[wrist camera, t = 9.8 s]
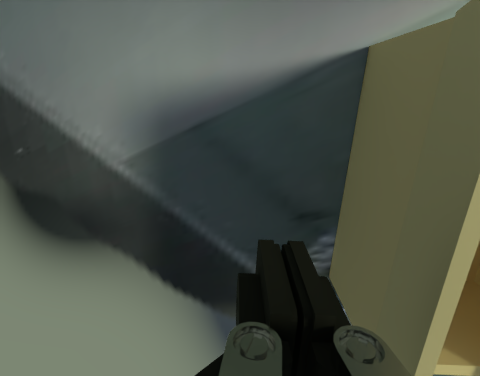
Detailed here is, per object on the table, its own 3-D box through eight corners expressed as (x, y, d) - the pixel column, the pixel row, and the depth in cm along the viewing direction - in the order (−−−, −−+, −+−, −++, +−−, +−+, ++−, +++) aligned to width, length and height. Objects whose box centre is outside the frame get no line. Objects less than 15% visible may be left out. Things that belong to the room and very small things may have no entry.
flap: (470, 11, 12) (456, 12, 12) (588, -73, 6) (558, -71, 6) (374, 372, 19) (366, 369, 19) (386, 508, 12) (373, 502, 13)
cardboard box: (369, 46, 22) (469, 11, 12) (553, 57, 22) (791, 32, 13) (328, 276, 28) (374, 371, 19) (473, 283, 28) (591, 380, 19)
